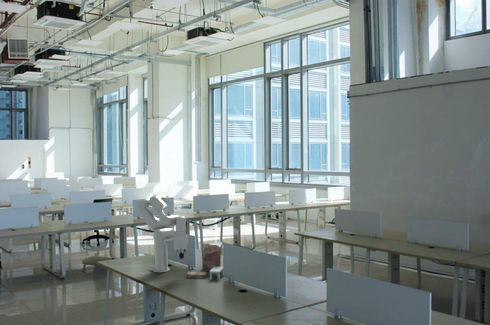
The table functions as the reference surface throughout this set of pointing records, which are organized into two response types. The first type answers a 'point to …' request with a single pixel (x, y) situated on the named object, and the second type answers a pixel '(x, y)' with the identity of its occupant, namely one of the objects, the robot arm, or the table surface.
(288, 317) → the table surface
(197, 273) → the panel
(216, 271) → the bridge
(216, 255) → the stone
